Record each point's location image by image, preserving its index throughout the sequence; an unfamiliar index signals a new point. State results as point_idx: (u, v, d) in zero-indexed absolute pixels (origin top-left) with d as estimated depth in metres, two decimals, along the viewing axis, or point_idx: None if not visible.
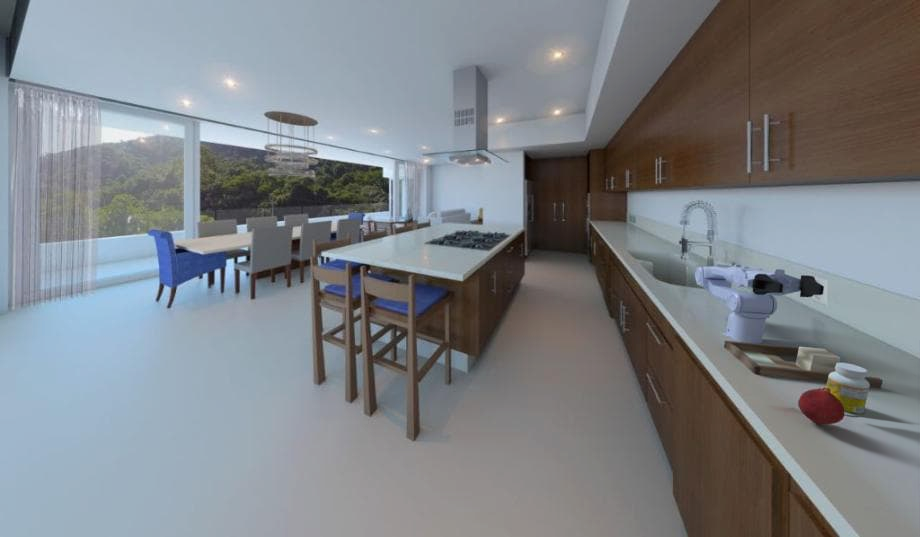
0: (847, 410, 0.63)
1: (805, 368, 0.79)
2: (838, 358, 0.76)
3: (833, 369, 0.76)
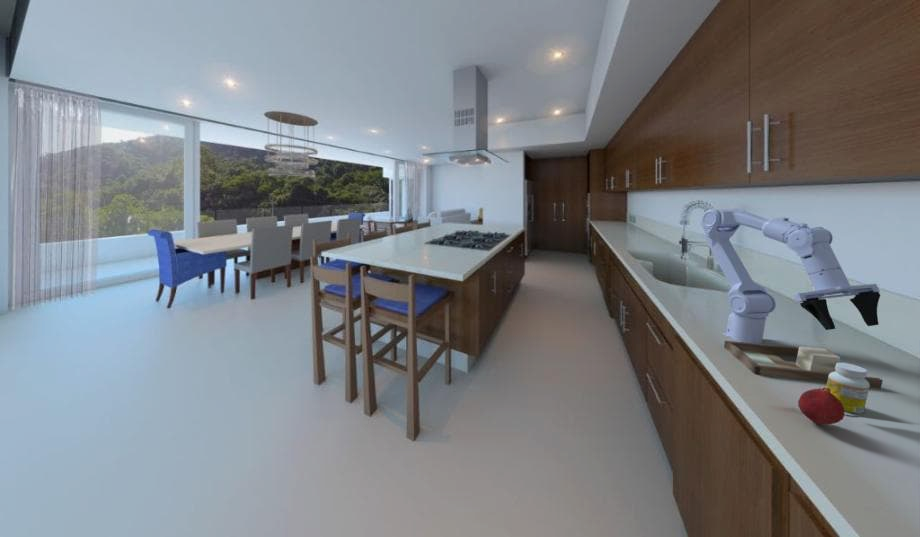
0: (847, 410, 0.63)
1: (805, 368, 0.79)
2: (838, 358, 0.76)
3: (833, 369, 0.76)
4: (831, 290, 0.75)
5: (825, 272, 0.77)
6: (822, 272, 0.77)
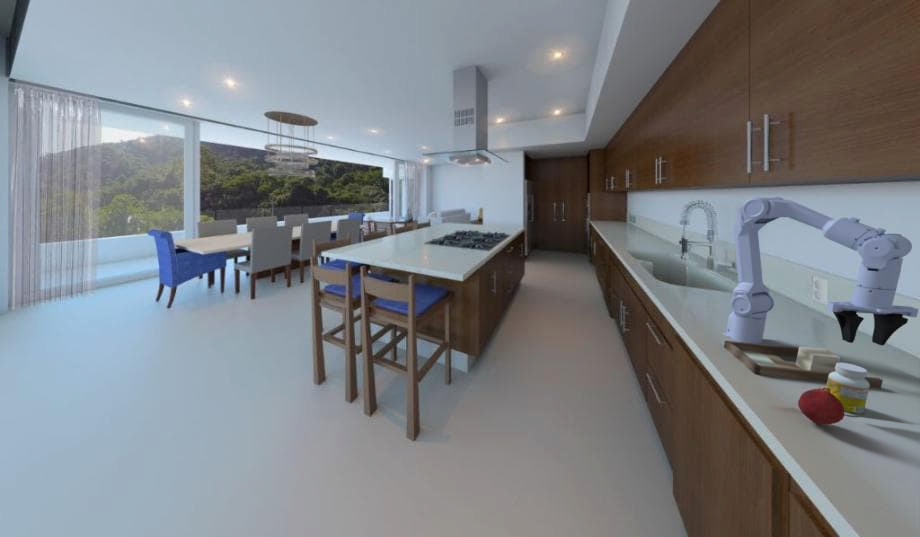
0: (847, 410, 0.63)
1: (805, 368, 0.79)
2: (838, 358, 0.76)
3: (833, 369, 0.76)
4: (869, 310, 0.72)
5: (876, 291, 0.71)
6: (873, 290, 0.72)
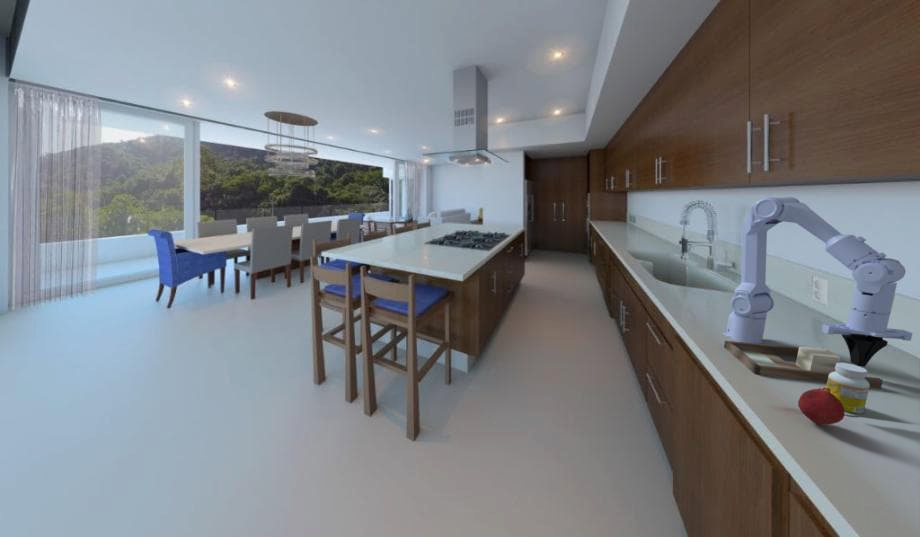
0: (847, 410, 0.63)
1: (805, 368, 0.79)
2: (838, 358, 0.76)
3: (833, 369, 0.76)
4: (864, 333, 0.73)
5: (871, 315, 0.72)
6: (867, 314, 0.73)
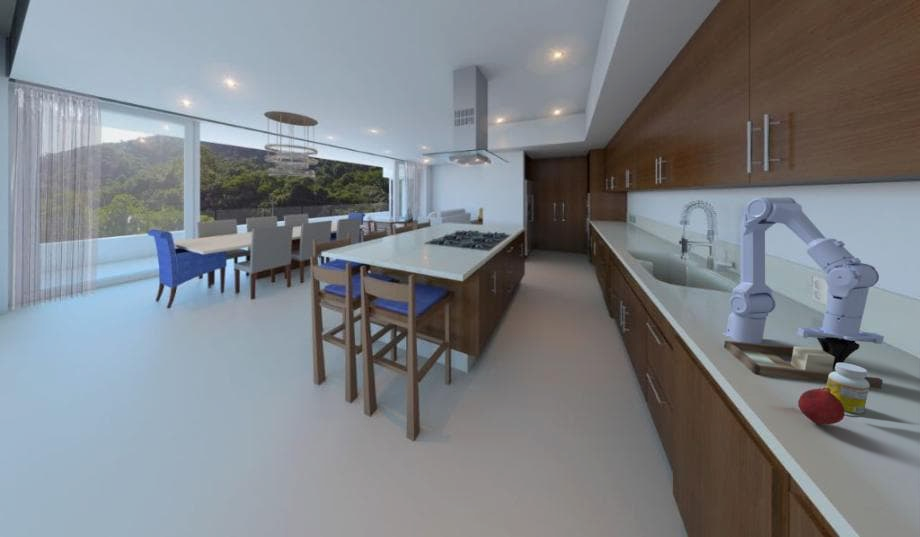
0: (847, 410, 0.63)
1: (800, 368, 0.79)
2: (832, 357, 0.76)
3: (828, 368, 0.76)
4: (837, 336, 0.75)
5: (843, 319, 0.74)
6: (840, 317, 0.74)
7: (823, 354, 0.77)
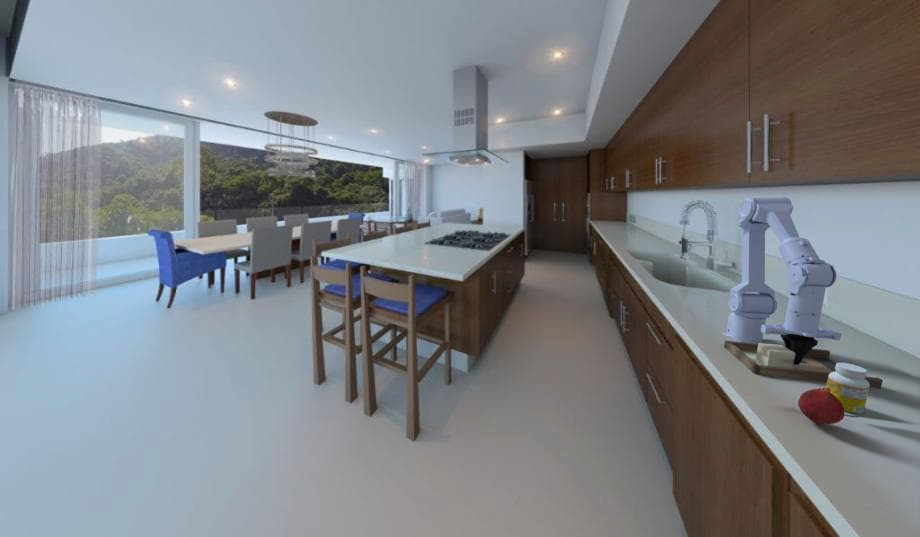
0: (847, 410, 0.63)
1: (763, 364, 0.82)
2: (793, 354, 0.78)
3: (789, 364, 0.79)
4: (796, 333, 0.77)
5: (802, 316, 0.76)
6: (800, 315, 0.77)
7: (785, 350, 0.79)
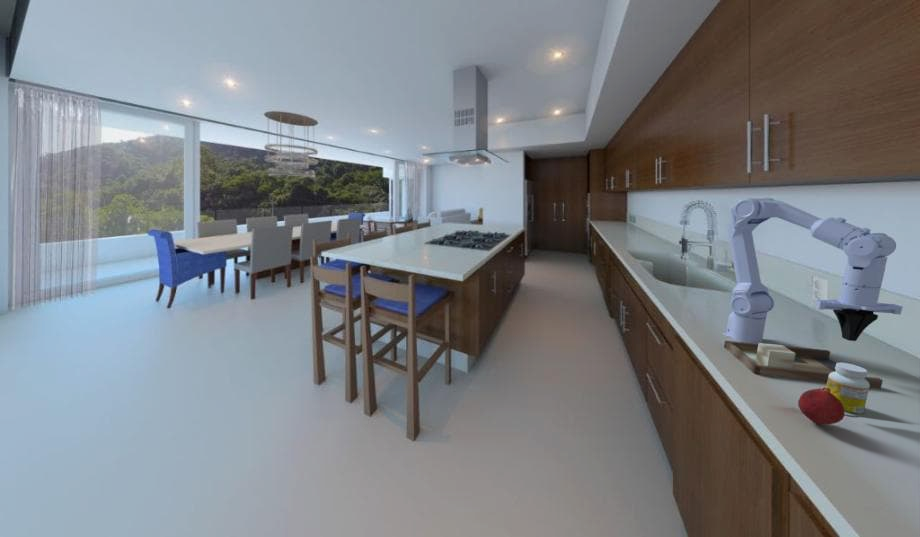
0: (847, 410, 0.63)
1: (763, 364, 0.82)
2: (793, 354, 0.78)
3: (789, 364, 0.79)
4: (854, 307, 0.74)
5: (861, 289, 0.73)
6: (858, 288, 0.73)
7: (785, 351, 0.79)
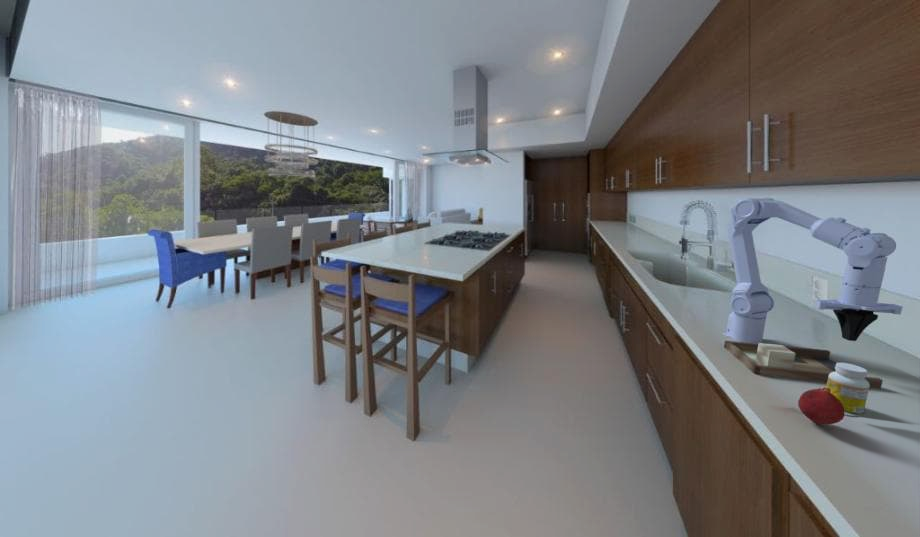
0: (847, 410, 0.63)
1: (763, 364, 0.82)
2: (793, 354, 0.78)
3: (789, 364, 0.79)
4: (854, 307, 0.74)
5: (861, 289, 0.73)
6: (858, 288, 0.73)
7: (785, 351, 0.79)
